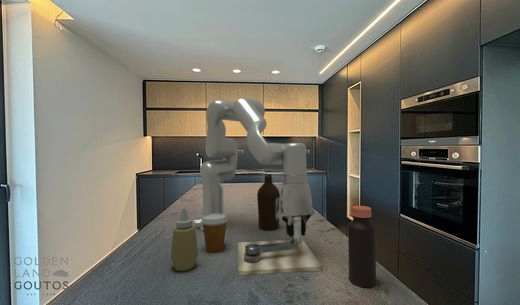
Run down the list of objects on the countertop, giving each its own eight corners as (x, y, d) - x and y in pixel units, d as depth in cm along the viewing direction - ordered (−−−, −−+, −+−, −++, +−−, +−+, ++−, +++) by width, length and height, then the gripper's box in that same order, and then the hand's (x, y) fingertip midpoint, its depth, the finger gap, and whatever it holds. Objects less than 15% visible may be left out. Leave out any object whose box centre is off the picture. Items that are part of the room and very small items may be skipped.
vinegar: (382, 285, 62) (381, 209, 62) (360, 290, 60) (359, 211, 60) (363, 273, 69) (363, 204, 69) (343, 277, 67) (342, 205, 67)
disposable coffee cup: (218, 241, 94) (217, 211, 94) (233, 248, 87) (232, 216, 87) (196, 248, 87) (196, 216, 87) (210, 256, 81) (210, 221, 81)
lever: (246, 256, 73) (246, 218, 73) (244, 250, 77) (243, 215, 77) (304, 250, 77) (303, 214, 77) (298, 244, 82) (298, 211, 82)
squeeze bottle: (183, 276, 68) (182, 213, 68) (165, 269, 72) (164, 210, 72) (203, 264, 75) (203, 207, 75) (186, 259, 79) (185, 205, 79)
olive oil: (255, 230, 107) (254, 175, 107) (259, 223, 118) (259, 173, 118) (278, 231, 105) (278, 175, 105) (281, 224, 116) (280, 173, 116)
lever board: (238, 275, 68) (238, 264, 68) (238, 245, 90) (237, 237, 90) (322, 270, 71) (322, 260, 71) (302, 242, 92) (302, 234, 92)
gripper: (275, 182, 73) (276, 241, 73) (323, 180, 78) (324, 236, 78) (268, 180, 81) (268, 234, 80) (312, 177, 85) (313, 229, 85)
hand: (296, 234), depth 79 cm, fingers closed on lever, 3 cm apart
